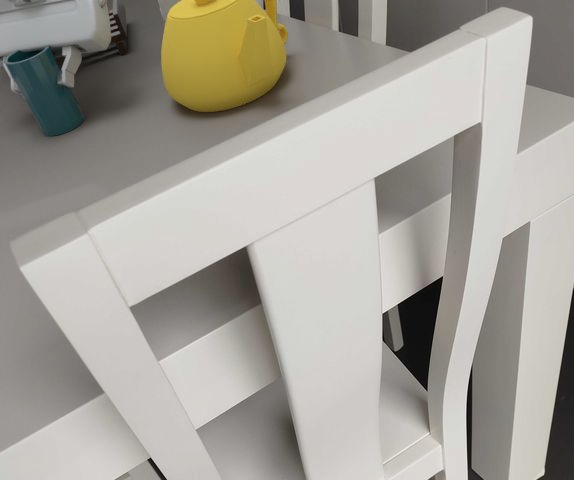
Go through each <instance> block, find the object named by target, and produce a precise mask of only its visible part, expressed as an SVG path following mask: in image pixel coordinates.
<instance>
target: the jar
mask: <svg viewBox="0 0 574 480" xmlns="http://www.w3.org/2000/svg"><path fill="white" fill-rule="evenodd" d="M180 1H182V0H157V3H158V5H159V12H160V14H161V17H162V21H163V22H164V24H165V23H166V20H167V16H168V13H169V11H170V9H171V8H172V7H173V6H174V5H175V4H177V3H178V2H180Z"/></svg>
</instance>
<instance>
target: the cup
mask: <svg viewBox="0 0 574 480" xmlns="http://www.w3.org/2000/svg"><path fill="white" fill-rule="evenodd" d="M4 64H5V66H6V68H7V69H8V71H9V73H10V75H11V77H12V78H13V80H14V82H15V84H16V86H17V87H18V89H19V91H20V93H21V94H20V95H21V96H22V98H23V100H24V102H25V104H26V105H27V107H28V109H29V111H30V113H31V114H32V116H33V118H34V120H35V122H36V123H37V125H38V127H39V129H40V130H41V132H42V133H43V135H45V136H47V137H55V136H60V135H64V134H66V133H68V132H70V131H72V130H74V129H76V128H77V127H79V126H80V125H81V124H82V123H83V122H84V120H85V115H84V113H83V110H82V108H81V106H80V104H79V102H78V100H77V99H76V95H75V94H74V93H73V89H72V88H62V87H60V86H58V84H57V82H56V79H57V73H56V71H60V70H61V68H60V66H59V63H58V61H57V59H56V57H55V55H54V53H53V51H52V49H51V48H50V46H49V45H46V47H45V49H44V50H38V51H32V52H26V53H24V52H22V51H21V50H17V51H15V52H13V53H12V54H10V55H9V56H8V57H6V58H5V60H4Z"/></svg>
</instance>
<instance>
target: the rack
mask: <svg viewBox="0 0 574 480" xmlns="http://www.w3.org/2000/svg"><path fill="white" fill-rule="evenodd" d="M108 13H109V19H110V29H111V42H110V44H109V45H111V44H114V43H115V45H116V47H117V49H118V52H119V54H120V56H123V55H127V54H128V38H129V37H128V27H127V26H128V25H127V12H126V8H125V5H124V3H123V0H112V9H110V10H108ZM65 58H66V57H58V58H56V59H57V61H58V63H59V66H60V68H61V69H62V66H63V63H64V61H65Z"/></svg>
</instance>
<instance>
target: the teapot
mask: <svg viewBox="0 0 574 480" xmlns="http://www.w3.org/2000/svg"><path fill="white" fill-rule="evenodd" d="M264 4H265V5H264V6H265V10H264V9H263V8H262V7H261V6H260V5H259V3H258V2H257V1H256V0H182V1H180V2H178V3H177V4H175V5H174V6H173V7H172V8H171V9H170V11H169V13H168V16H167V20H166V23H164V30H163V37H162V40H161V41H162V42H161V51H160V63H161V75H162V79H163V83H164V87H165V89H166V92H167V94H168V95H169V96H170V97H171V98H172V100H174V101H175V102H177V103H179V104H180V105H182V106H183V107H185V108H188V109H189V110H190V111H193V112H198V113H200V112H201V113H215V112H216V113H217V112H222V111H227V110H232V109H235V108H238V107H241V106H244V105H247V104H249V103H251V102H253V101H255V100H257V99H259V98H261V97H262V96H264V95H265V94H267V93H269V91H271V90H272V89H273V88H274V87H275V86H276V85H277V84H278V81H279V80H280V78H281V76H282V74H283V71H284V69H285V67H286V64H287V50H286V47H285V45H286V44H287V42H288V40H289V31H288V29H287V27H286V26H285V25H284V24H283V23H278V6H277V5H278V4H277V0H264ZM246 103H247V104H246Z"/></svg>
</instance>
